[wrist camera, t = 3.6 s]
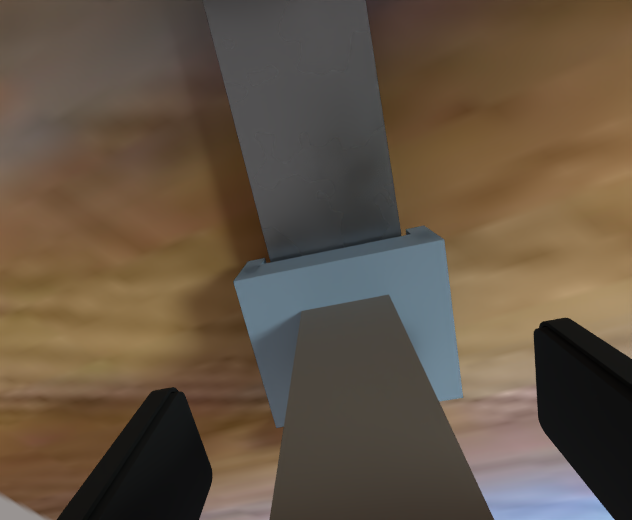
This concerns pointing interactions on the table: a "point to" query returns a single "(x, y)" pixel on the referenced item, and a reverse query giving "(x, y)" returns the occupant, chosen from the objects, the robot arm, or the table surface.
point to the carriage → (362, 381)
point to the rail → (307, 121)
